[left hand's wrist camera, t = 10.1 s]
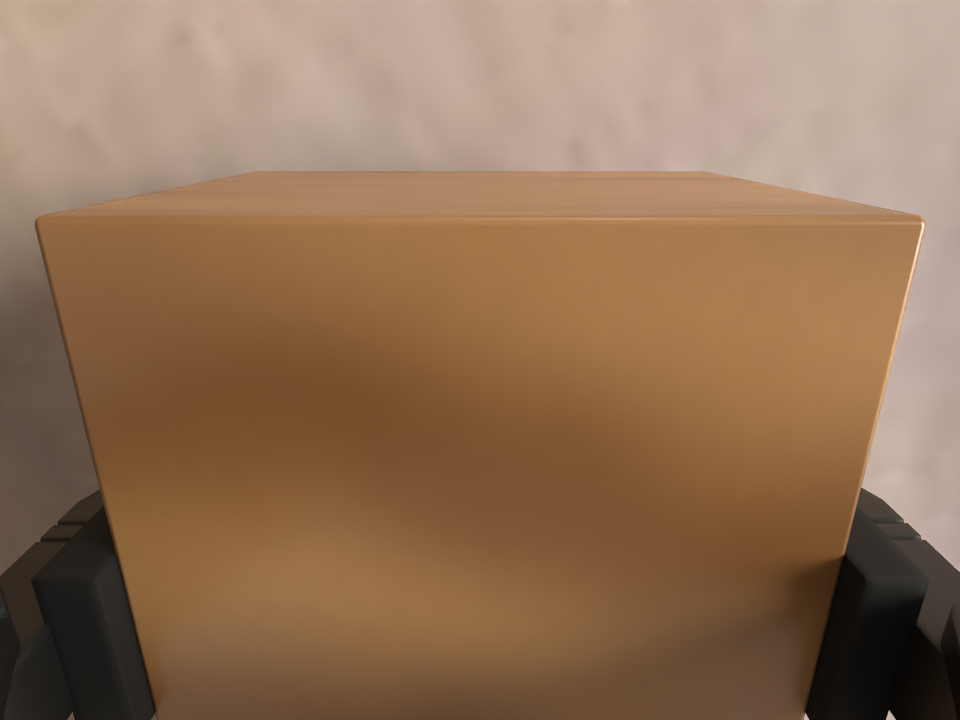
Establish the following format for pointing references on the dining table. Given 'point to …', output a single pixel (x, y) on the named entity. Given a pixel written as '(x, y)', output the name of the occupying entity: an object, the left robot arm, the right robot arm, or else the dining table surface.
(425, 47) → the dining table surface
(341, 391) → the slab
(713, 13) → the dining table surface
